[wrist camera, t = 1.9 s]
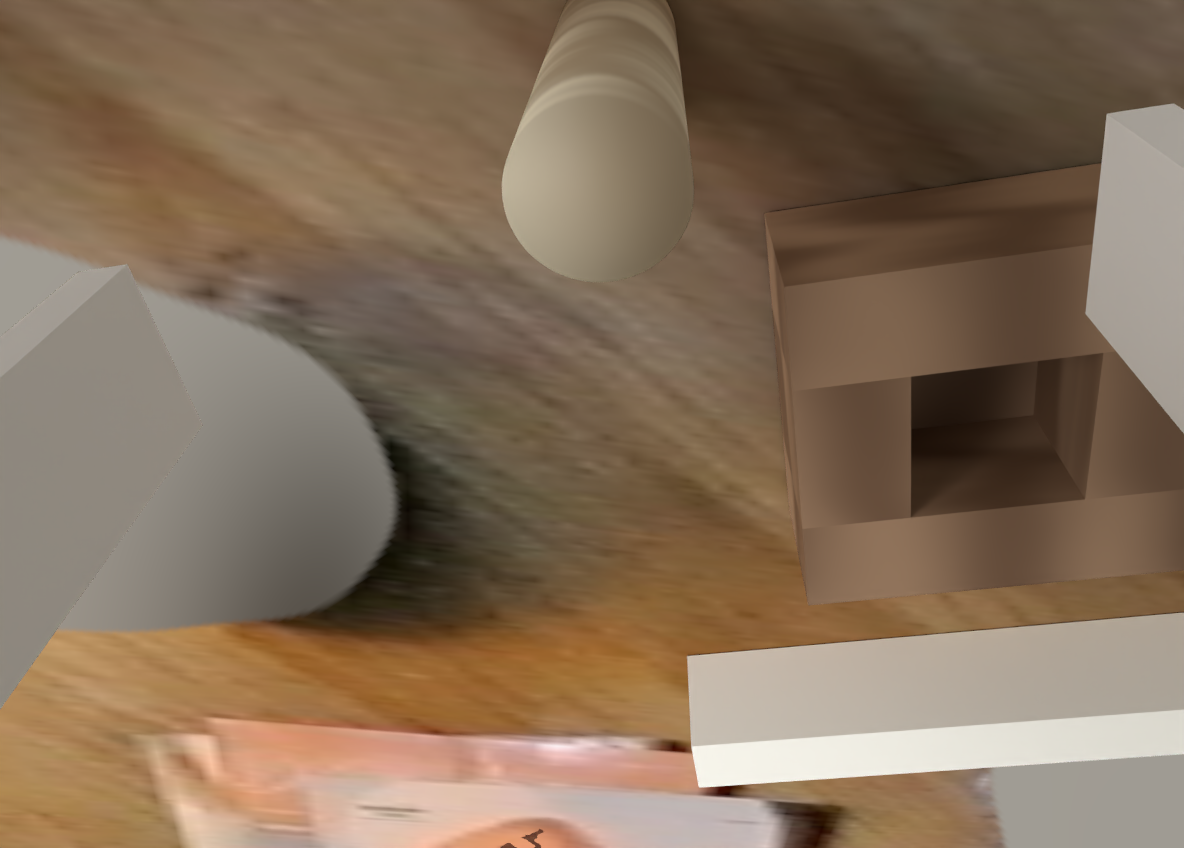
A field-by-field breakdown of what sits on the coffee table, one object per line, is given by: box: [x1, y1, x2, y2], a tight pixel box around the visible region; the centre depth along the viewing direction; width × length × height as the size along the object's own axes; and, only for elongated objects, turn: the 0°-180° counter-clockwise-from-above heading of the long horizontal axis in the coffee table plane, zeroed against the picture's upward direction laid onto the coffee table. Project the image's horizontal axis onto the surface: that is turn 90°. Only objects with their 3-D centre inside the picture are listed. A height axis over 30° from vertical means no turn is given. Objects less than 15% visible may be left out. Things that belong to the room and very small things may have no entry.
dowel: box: [502, 0, 694, 282], centre depth 21 cm, size 3×3×12 cm
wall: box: [687, 613, 1184, 788], centre depth 36 cm, size 20×2×4 cm, turn 100°
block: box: [764, 163, 1184, 605], centre depth 28 cm, size 11×11×5 cm
